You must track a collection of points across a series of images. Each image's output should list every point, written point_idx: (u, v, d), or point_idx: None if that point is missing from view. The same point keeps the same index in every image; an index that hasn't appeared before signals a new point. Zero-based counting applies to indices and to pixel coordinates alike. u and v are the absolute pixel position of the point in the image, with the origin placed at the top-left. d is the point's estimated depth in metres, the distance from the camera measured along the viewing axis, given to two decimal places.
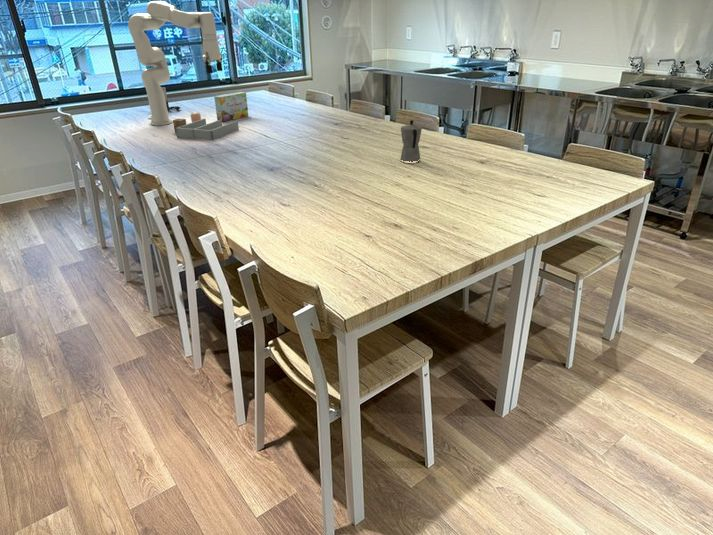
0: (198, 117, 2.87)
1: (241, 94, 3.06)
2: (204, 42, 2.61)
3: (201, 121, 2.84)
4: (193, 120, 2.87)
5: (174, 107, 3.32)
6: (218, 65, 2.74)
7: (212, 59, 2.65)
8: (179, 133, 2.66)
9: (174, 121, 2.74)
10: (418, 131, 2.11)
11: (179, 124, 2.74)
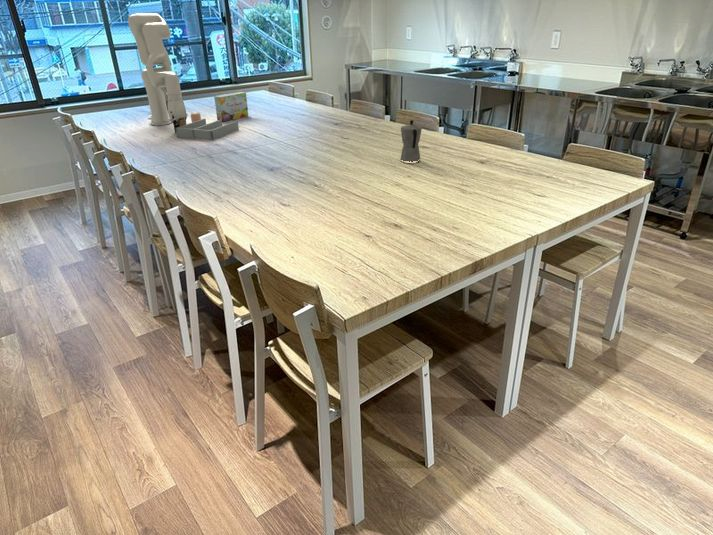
0: (198, 117, 2.87)
1: (241, 94, 3.06)
2: (169, 102, 2.68)
3: (201, 121, 2.84)
4: (193, 120, 2.87)
5: None
6: None
7: (177, 118, 2.72)
8: (179, 133, 2.66)
9: None
10: (418, 131, 2.11)
11: (179, 124, 2.74)
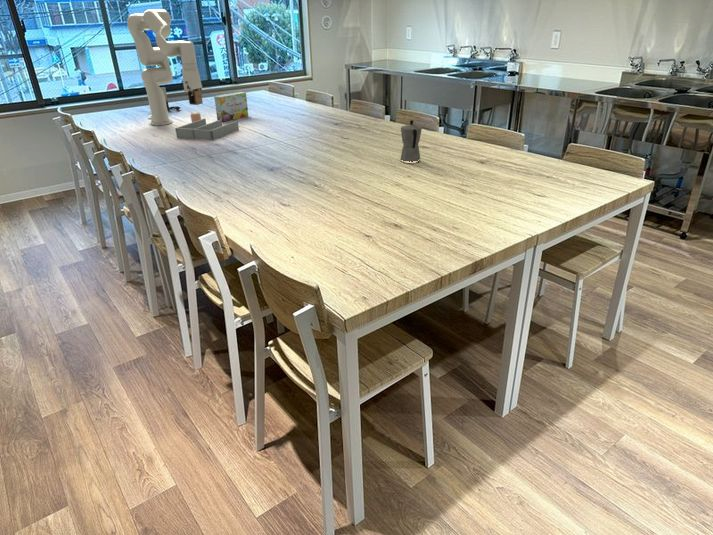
0: (198, 117, 2.87)
1: (241, 94, 3.06)
2: (184, 71, 2.58)
3: (201, 121, 2.84)
4: (193, 120, 2.87)
5: (174, 107, 3.32)
6: None
7: (192, 88, 2.62)
8: (179, 133, 2.66)
9: None
10: (418, 131, 2.11)
11: (194, 95, 2.65)
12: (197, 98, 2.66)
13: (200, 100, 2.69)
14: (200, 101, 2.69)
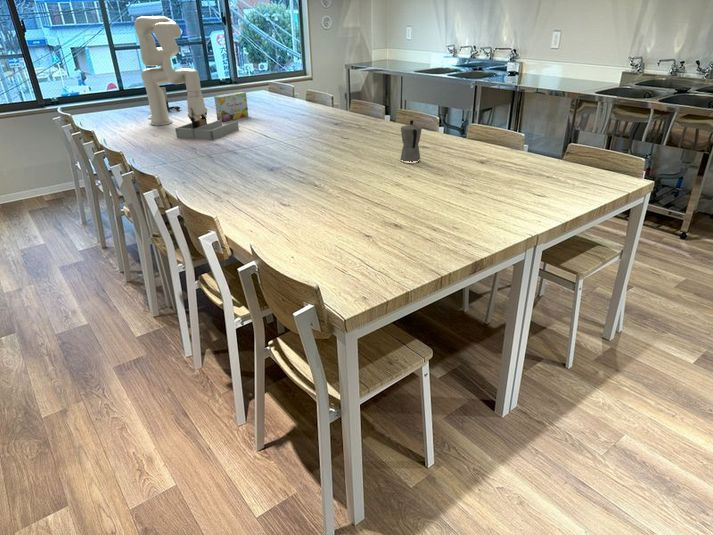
0: (198, 117, 2.87)
1: (241, 94, 3.06)
2: (189, 98, 2.65)
3: None
4: None
5: (174, 107, 3.32)
6: None
7: (197, 114, 2.69)
8: (179, 133, 2.66)
9: None
10: (418, 131, 2.11)
11: (199, 124, 2.72)
12: None
13: None
14: None
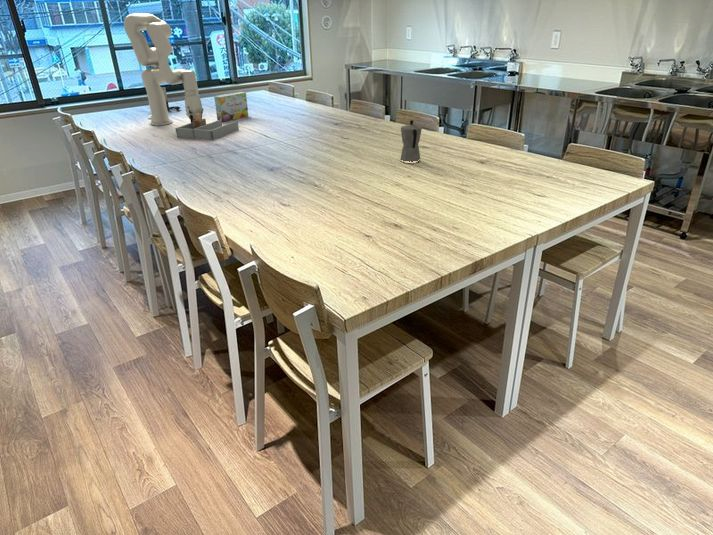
0: (198, 117, 2.87)
1: (241, 94, 3.06)
2: (186, 97, 2.80)
3: None
4: None
5: (174, 107, 3.32)
6: None
7: (194, 112, 2.84)
8: (179, 133, 2.66)
9: (194, 121, 2.73)
10: (418, 131, 2.11)
11: (199, 124, 2.72)
12: None
13: None
14: None
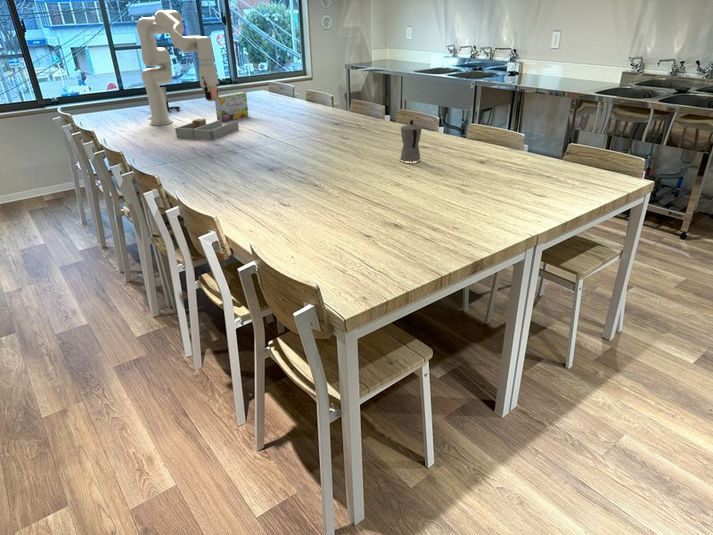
0: (213, 89, 2.61)
1: (241, 94, 3.06)
2: (201, 67, 2.53)
3: None
4: None
5: (174, 107, 3.32)
6: None
7: (209, 84, 2.58)
8: (179, 133, 2.66)
9: (194, 121, 2.73)
10: (418, 131, 2.11)
11: (199, 124, 2.72)
12: None
13: None
14: None
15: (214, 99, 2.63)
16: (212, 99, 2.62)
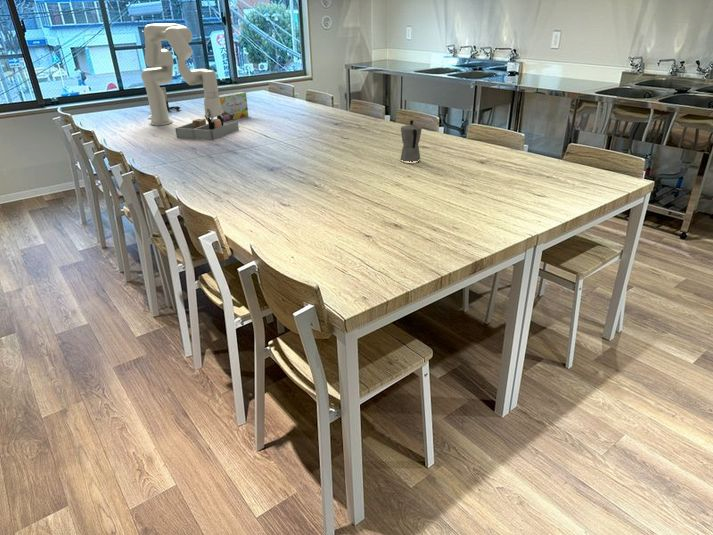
0: (219, 124, 2.70)
1: (241, 94, 3.06)
2: (206, 99, 2.61)
3: None
4: None
5: (174, 107, 3.32)
6: None
7: (214, 115, 2.65)
8: (179, 133, 2.66)
9: (194, 121, 2.73)
10: (418, 131, 2.11)
11: (199, 124, 2.72)
12: None
13: None
14: None
15: None
16: None
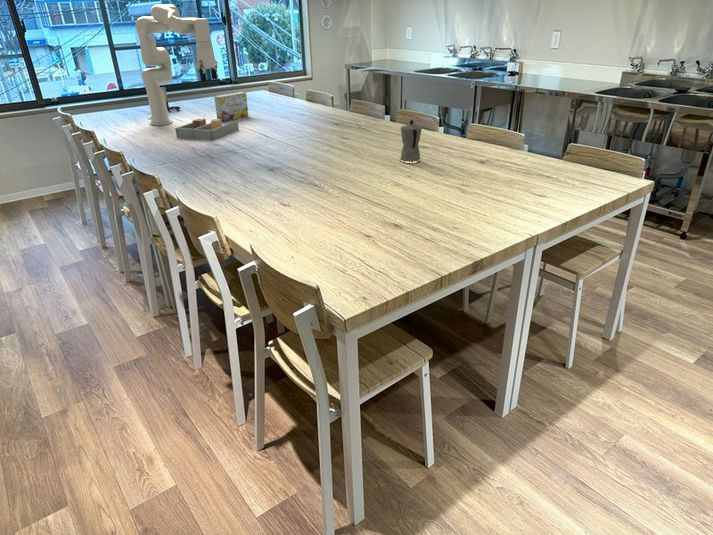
0: (219, 124, 2.70)
1: (241, 94, 3.06)
2: (198, 49, 2.49)
3: None
4: (213, 127, 2.70)
5: (174, 107, 3.32)
6: (213, 73, 2.62)
7: (206, 67, 2.54)
8: (179, 133, 2.66)
9: (194, 121, 2.73)
10: (418, 131, 2.11)
11: (199, 124, 2.72)
12: None
13: None
14: None
15: None
16: None
